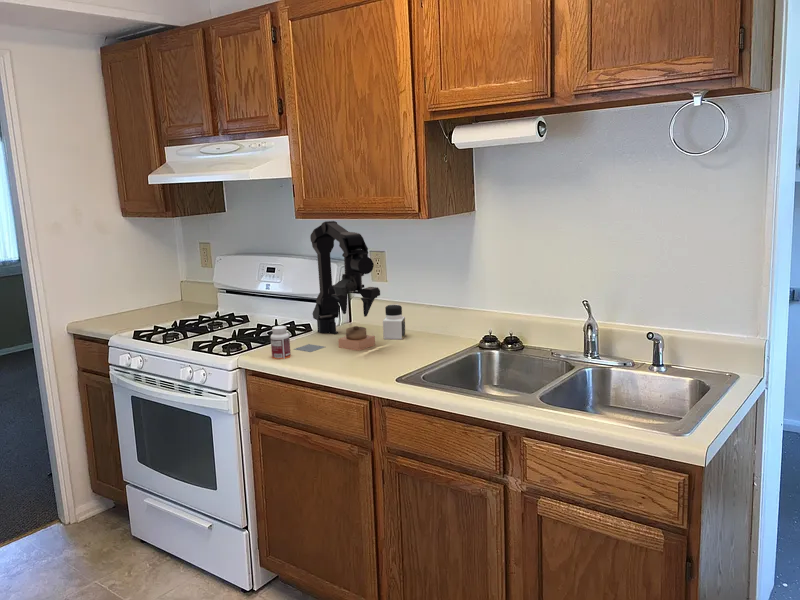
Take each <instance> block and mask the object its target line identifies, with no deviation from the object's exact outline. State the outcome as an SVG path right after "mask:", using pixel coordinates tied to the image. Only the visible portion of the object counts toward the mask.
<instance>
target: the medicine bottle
mask: <svg viewBox="0 0 800 600" xmlns="http://www.w3.org/2000/svg"><path fill="white" fill-rule="evenodd" d="M382 330H383V331H382V332H383V333H382V334H383V340H403V339H404V337H405V336H406V317H405V316H404V315H403V306H401V305H400V304H389V305H386V306H385V318H384V319H382Z"/></svg>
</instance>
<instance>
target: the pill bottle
mask: <svg viewBox="0 0 800 600" xmlns="http://www.w3.org/2000/svg"><path fill="white" fill-rule="evenodd" d="M271 331H272V334H271V335H270V345H271V347H270V348H271V358H272V359H274V360H284V359H288V358H291V356H292V355H291V353H292V352H291V341H290V334H289V333H288V332H287V326H286V325H277V326H276V325H275V326H273V327H272V329H271Z"/></svg>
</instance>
